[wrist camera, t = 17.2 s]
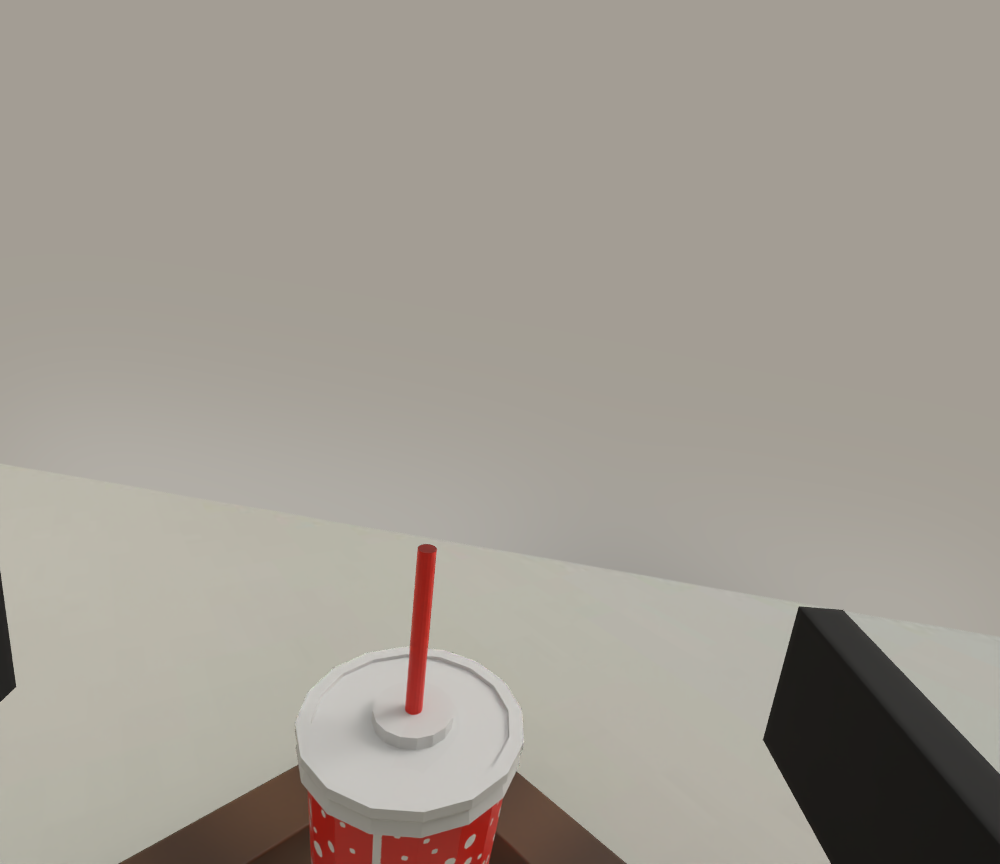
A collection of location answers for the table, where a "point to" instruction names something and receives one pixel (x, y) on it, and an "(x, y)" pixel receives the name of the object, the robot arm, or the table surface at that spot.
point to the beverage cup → (408, 751)
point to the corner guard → (286, 835)
